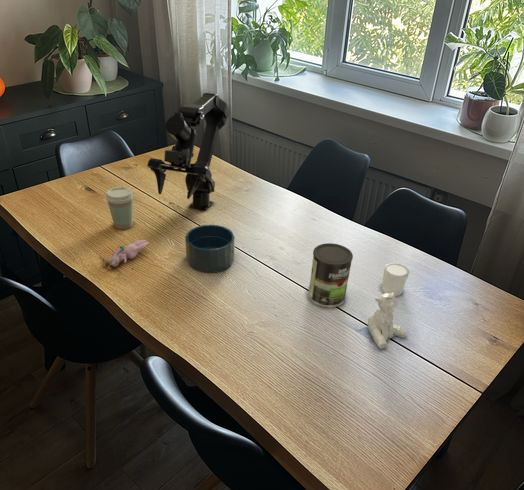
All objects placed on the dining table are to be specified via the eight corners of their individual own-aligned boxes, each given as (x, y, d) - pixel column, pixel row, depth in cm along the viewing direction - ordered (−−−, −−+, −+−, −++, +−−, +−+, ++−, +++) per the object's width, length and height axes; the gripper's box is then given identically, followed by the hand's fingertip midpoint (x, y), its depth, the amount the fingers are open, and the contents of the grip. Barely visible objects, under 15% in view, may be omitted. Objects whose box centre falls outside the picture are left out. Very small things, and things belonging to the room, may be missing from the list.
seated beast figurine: (380, 351, 120) (390, 313, 113) (355, 331, 126) (362, 293, 119) (406, 336, 125) (417, 299, 118) (381, 318, 131) (389, 281, 124)
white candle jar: (405, 285, 143) (410, 265, 139) (402, 299, 137) (408, 279, 133) (381, 280, 144) (385, 260, 140) (377, 293, 139) (382, 273, 135)
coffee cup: (140, 219, 167) (136, 187, 160) (132, 232, 160) (127, 199, 153) (115, 217, 168) (110, 185, 161) (106, 230, 161) (100, 196, 154)
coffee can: (352, 301, 136) (360, 259, 128) (321, 311, 132) (327, 268, 123) (331, 281, 143) (338, 239, 135) (301, 290, 139) (305, 247, 131)
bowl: (201, 242, 157) (200, 220, 152) (241, 253, 153) (242, 231, 148) (177, 265, 146) (176, 242, 141) (221, 278, 142) (220, 254, 137)
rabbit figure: (114, 276, 142) (155, 249, 150) (108, 260, 138) (150, 234, 146) (101, 267, 146) (142, 242, 154) (96, 252, 142) (137, 226, 150)
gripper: (145, 133, 145) (134, 184, 144) (205, 141, 142) (194, 194, 141) (159, 146, 156) (149, 194, 155) (215, 154, 153) (205, 203, 152)
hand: (173, 196), depth 151 cm, fingers open, 9 cm apart
